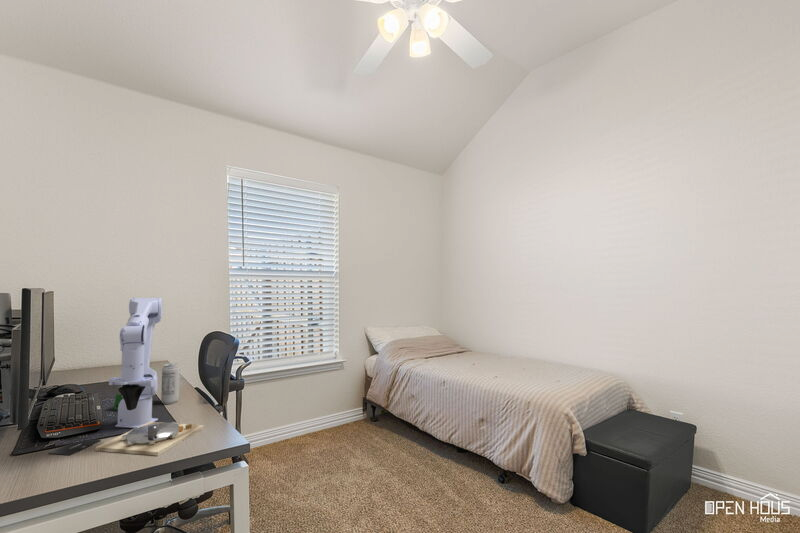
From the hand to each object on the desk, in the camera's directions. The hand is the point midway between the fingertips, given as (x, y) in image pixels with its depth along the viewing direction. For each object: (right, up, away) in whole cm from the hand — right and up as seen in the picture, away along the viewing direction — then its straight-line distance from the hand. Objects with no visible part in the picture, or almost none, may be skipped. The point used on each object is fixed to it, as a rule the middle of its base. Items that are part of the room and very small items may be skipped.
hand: (131, 409), depth 120 cm
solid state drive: (-13, -10, -5) cm, 17 cm away
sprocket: (+6, -8, +1) cm, 10 cm away
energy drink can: (-9, -10, +35) cm, 38 cm away
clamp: (-18, -10, +28) cm, 35 cm away
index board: (+6, -10, +1) cm, 11 cm away
